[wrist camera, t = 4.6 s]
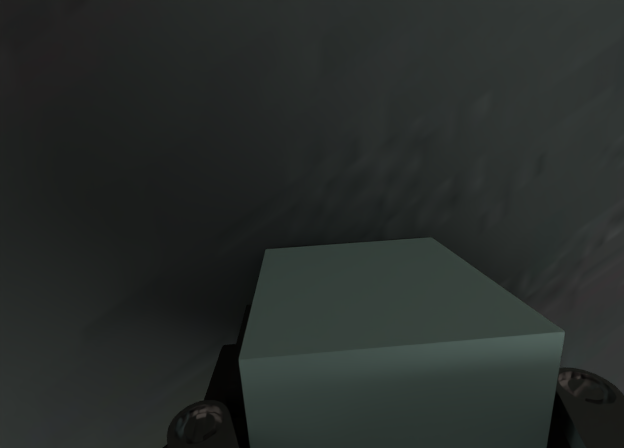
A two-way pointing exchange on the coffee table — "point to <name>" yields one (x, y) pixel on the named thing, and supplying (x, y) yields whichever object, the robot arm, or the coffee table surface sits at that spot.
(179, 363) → the coffee table surface
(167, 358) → the coffee table surface
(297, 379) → the teal cube
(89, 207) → the coffee table surface
